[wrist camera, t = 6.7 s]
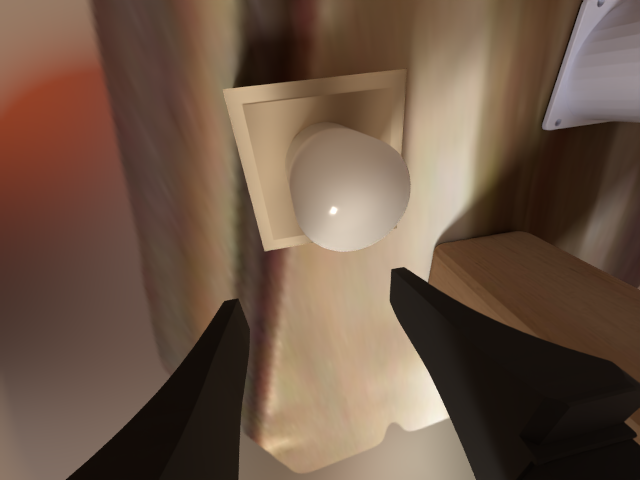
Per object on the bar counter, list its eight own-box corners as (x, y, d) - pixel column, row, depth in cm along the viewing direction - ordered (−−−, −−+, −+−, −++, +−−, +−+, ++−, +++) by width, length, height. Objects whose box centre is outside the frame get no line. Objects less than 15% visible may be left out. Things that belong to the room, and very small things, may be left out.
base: (385, 73, 16) (407, 68, 13) (381, 212, 21) (396, 228, 18) (231, 91, 15) (222, 89, 13) (265, 232, 20) (264, 251, 18)
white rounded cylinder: (368, 122, 14) (422, 137, 9) (359, 202, 17) (397, 247, 12) (283, 120, 14) (292, 135, 8) (286, 205, 16) (294, 255, 11)
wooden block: (524, 225, 25) (1103, 513, 7) (496, 298, 30) (802, 571, 12) (431, 240, 24) (850, 614, 6) (418, 314, 29) (634, 632, 11)
